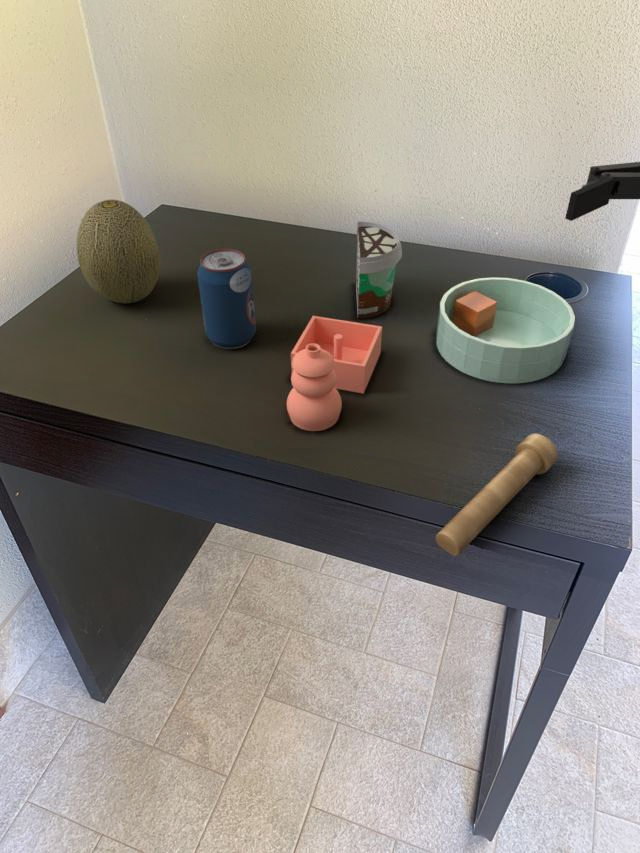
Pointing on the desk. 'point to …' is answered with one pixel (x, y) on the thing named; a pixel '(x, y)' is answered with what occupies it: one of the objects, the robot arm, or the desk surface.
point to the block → (474, 313)
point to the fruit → (118, 252)
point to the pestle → (498, 493)
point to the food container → (375, 267)
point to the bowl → (508, 332)
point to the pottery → (330, 369)
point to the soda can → (227, 298)
